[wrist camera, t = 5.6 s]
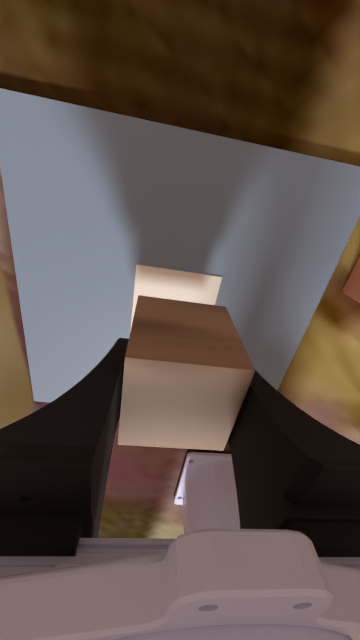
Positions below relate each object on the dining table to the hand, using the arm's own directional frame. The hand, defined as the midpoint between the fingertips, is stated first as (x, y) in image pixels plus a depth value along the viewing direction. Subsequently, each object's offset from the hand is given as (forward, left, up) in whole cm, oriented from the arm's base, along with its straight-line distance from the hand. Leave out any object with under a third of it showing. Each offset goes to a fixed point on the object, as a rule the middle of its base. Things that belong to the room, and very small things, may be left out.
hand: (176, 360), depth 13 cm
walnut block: (0, 0, -2) cm, 2 cm away
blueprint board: (0, 0, -6) cm, 6 cm away
